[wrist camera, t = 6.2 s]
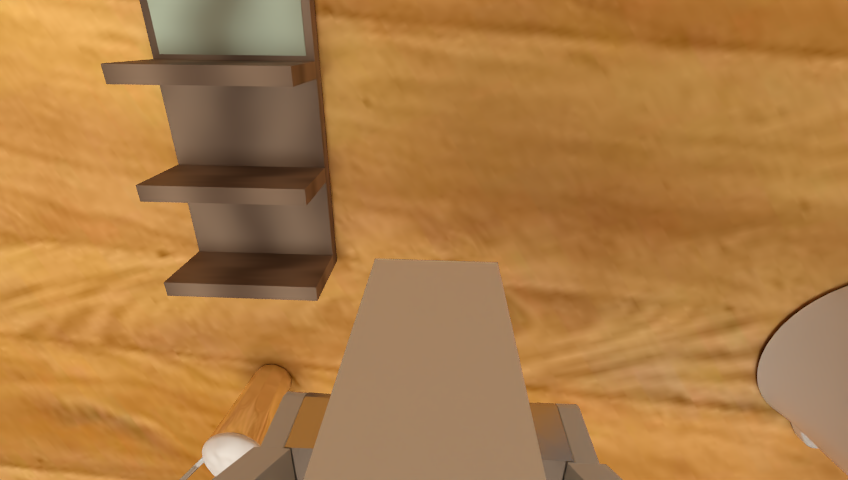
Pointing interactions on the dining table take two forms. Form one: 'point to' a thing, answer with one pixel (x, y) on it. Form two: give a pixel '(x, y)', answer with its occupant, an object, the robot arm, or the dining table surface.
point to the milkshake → (245, 420)
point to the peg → (429, 382)
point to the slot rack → (242, 143)
